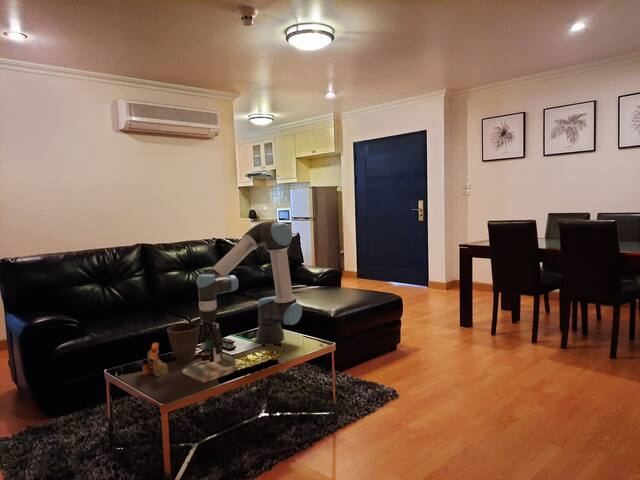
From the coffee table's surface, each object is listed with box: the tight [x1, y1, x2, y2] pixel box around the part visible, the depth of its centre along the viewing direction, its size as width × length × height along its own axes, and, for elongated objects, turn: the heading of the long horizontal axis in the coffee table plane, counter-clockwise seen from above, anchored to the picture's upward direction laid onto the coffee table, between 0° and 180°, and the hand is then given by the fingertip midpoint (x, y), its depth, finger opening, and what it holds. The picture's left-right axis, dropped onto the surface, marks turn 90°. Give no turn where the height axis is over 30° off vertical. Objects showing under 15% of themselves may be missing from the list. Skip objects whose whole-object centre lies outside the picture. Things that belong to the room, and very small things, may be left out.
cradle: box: [181, 354, 242, 384], centre depth 198 cm, size 19×18×4 cm
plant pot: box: [166, 322, 199, 363], centre depth 214 cm, size 15×15×16 cm
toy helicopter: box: [142, 342, 169, 378], centre depth 193 cm, size 8×21×14 cm, turn 39°
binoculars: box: [198, 334, 223, 362], centre depth 197 cm, size 9×11×10 cm
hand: (211, 358), depth 197 cm, fingers closed on binoculars, 9 cm apart
